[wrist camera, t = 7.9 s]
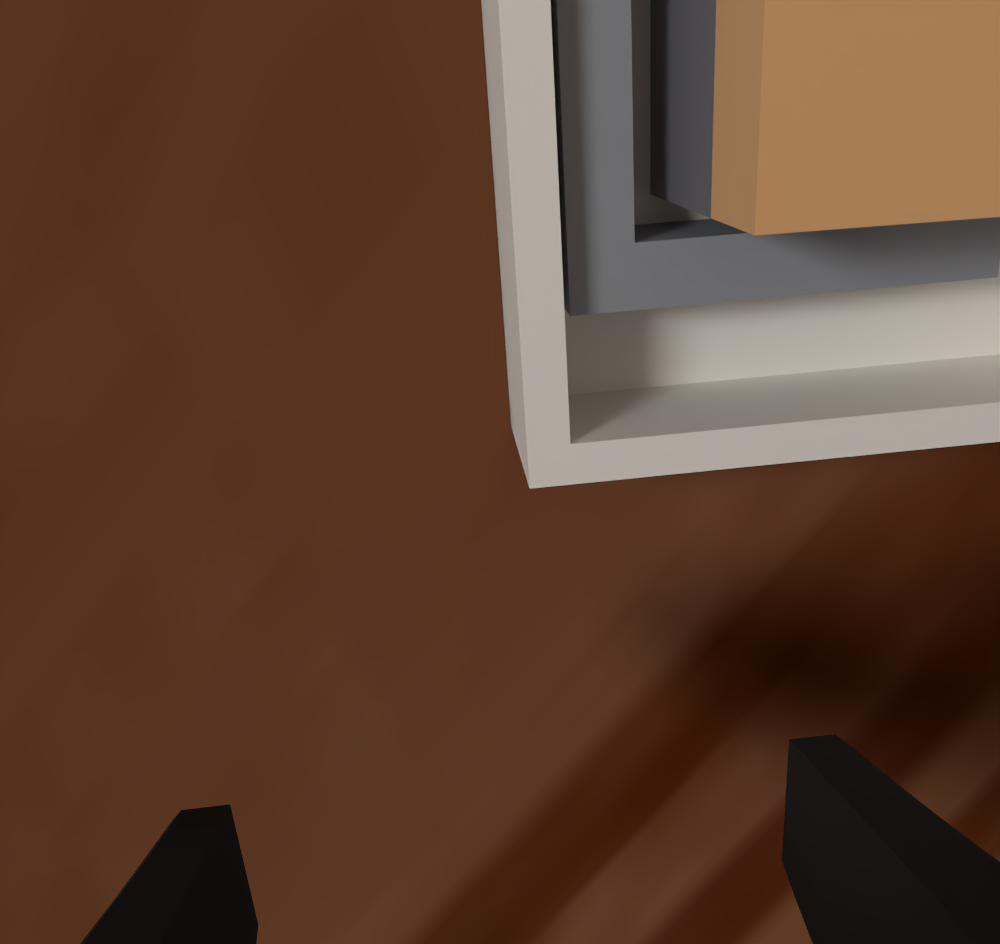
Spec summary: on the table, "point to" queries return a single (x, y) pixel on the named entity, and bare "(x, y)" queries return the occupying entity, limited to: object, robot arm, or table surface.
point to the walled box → (704, 289)
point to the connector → (826, 111)
